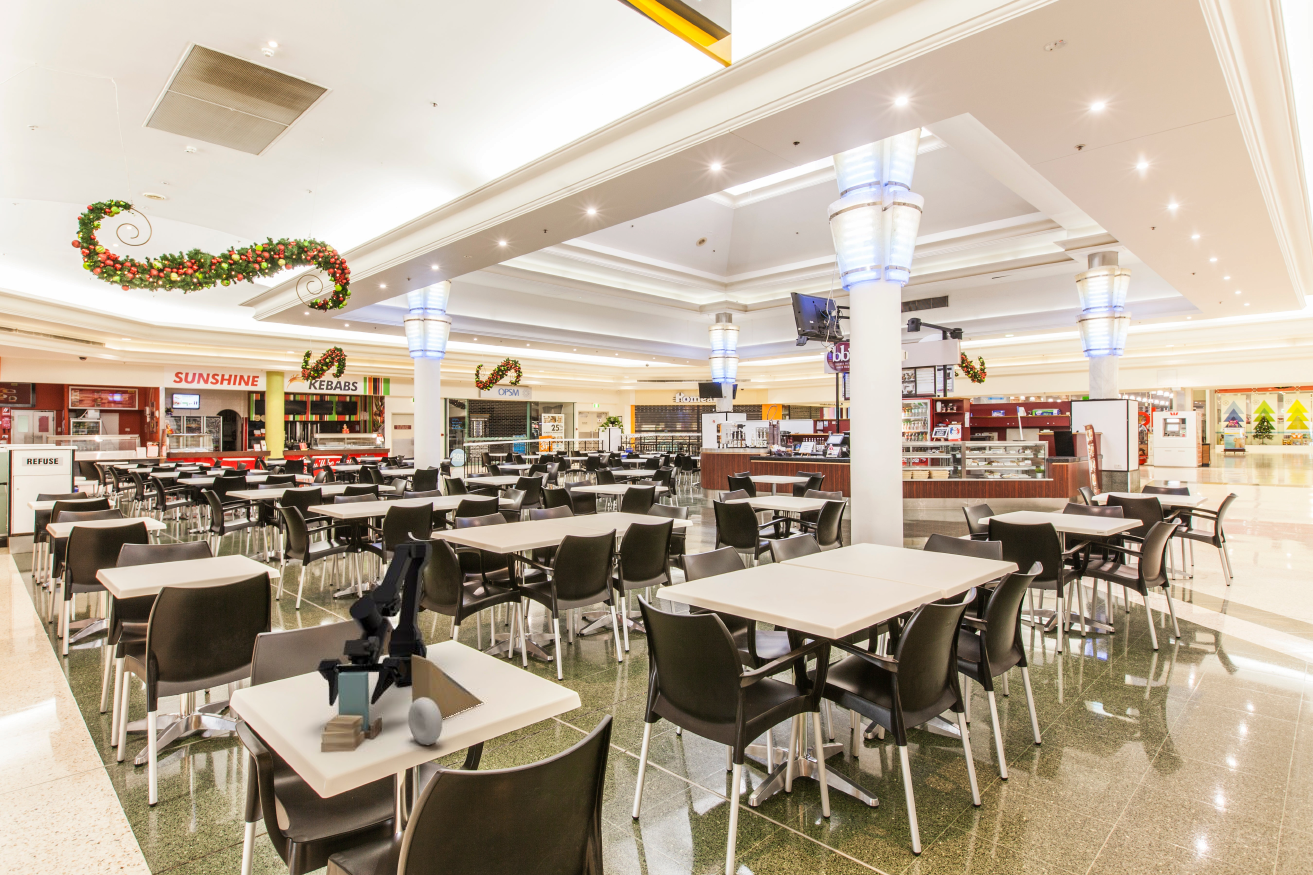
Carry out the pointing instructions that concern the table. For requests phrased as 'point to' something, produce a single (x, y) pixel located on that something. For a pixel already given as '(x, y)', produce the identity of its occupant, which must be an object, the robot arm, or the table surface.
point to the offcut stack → (342, 734)
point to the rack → (373, 729)
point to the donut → (425, 721)
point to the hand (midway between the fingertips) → (351, 704)
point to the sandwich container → (439, 688)
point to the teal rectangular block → (354, 695)
